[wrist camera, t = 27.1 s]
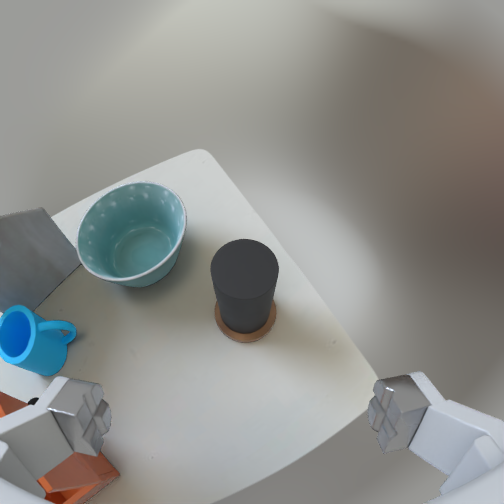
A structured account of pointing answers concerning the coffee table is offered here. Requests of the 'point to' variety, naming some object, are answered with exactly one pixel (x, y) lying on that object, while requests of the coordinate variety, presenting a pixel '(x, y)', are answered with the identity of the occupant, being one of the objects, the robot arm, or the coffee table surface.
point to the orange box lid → (64, 474)
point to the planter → (32, 258)
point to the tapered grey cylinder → (244, 284)
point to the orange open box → (73, 499)
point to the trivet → (250, 336)
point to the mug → (34, 340)
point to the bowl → (132, 234)
